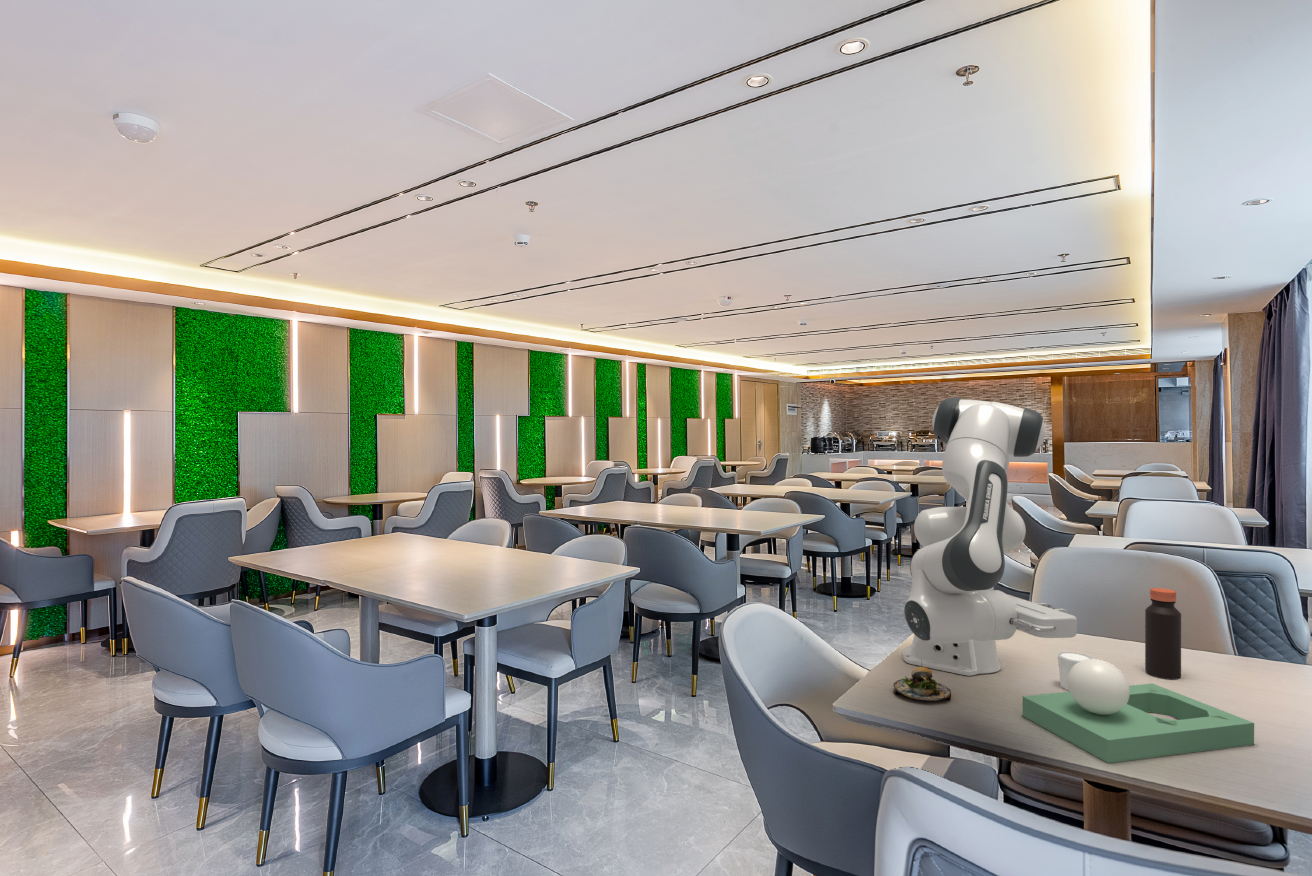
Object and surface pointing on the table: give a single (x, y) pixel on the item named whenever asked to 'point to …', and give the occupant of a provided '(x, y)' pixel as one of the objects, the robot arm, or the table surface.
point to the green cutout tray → (1140, 725)
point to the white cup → (1068, 665)
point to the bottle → (1163, 635)
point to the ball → (1098, 686)
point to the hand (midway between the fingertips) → (1056, 610)
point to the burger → (922, 686)
